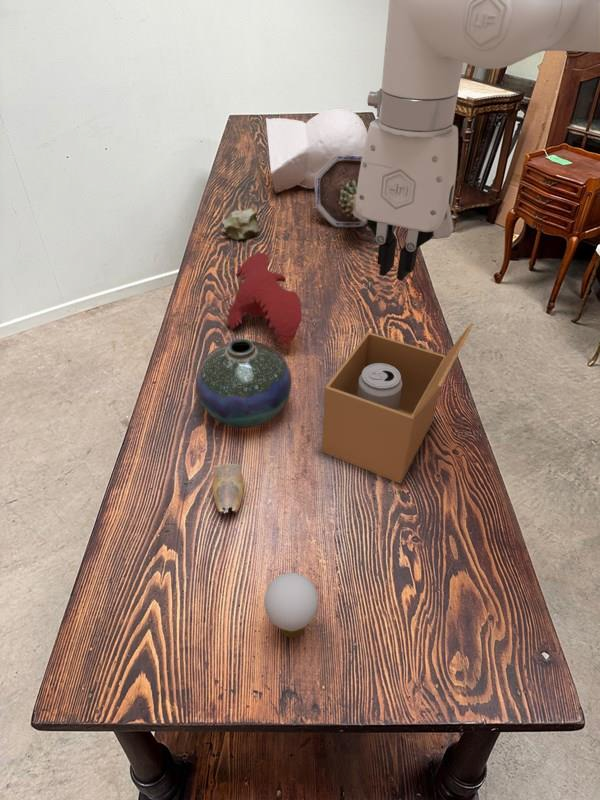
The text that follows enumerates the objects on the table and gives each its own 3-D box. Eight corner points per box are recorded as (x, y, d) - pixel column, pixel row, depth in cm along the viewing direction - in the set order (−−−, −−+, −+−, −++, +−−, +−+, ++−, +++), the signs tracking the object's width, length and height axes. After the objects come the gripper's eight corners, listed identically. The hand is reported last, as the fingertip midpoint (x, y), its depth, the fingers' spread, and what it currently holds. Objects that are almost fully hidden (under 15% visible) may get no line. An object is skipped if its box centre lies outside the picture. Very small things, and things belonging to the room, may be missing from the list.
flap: (448, 352, 79) (450, 353, 79) (413, 414, 70) (416, 416, 70) (471, 322, 74) (474, 324, 74) (437, 385, 65) (440, 386, 65)
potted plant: (311, 149, 143) (323, 160, 117) (377, 151, 144) (405, 162, 118) (308, 218, 151) (319, 242, 125) (371, 219, 153) (395, 243, 126)
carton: (433, 420, 89) (448, 356, 80) (400, 483, 79) (413, 419, 70) (360, 395, 93) (367, 331, 84) (321, 452, 84) (324, 387, 75)
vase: (184, 403, 92) (171, 340, 83) (258, 368, 99) (254, 306, 90) (232, 457, 83) (223, 393, 74) (310, 415, 90) (311, 352, 81)
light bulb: (292, 596, 66) (291, 552, 60) (327, 629, 63) (330, 587, 57) (256, 629, 63) (251, 587, 57) (291, 666, 60) (290, 626, 54)
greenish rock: (263, 233, 142) (266, 206, 135) (249, 251, 136) (251, 224, 130) (231, 221, 143) (232, 194, 136) (215, 240, 137) (216, 212, 131)
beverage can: (396, 446, 84) (407, 389, 76) (355, 446, 84) (361, 389, 76) (391, 417, 89) (400, 360, 80) (352, 418, 89) (357, 361, 80)
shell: (254, 515, 75) (240, 507, 72) (226, 525, 76) (210, 518, 73) (244, 464, 79) (229, 454, 76) (217, 475, 80) (202, 465, 77)
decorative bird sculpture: (276, 380, 103) (326, 320, 98) (239, 363, 97) (291, 298, 92) (231, 305, 122) (271, 252, 117) (198, 287, 116) (240, 230, 111)
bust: (343, 165, 174) (375, 95, 153) (356, 216, 164) (391, 148, 144) (253, 150, 164) (274, 73, 143) (261, 202, 154) (285, 128, 134)
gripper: (330, 109, 55) (324, 271, 67) (484, 132, 49) (447, 304, 62) (360, 92, 60) (350, 246, 72) (503, 112, 54) (465, 275, 67)
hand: (395, 272), depth 67 cm, fingers closed
